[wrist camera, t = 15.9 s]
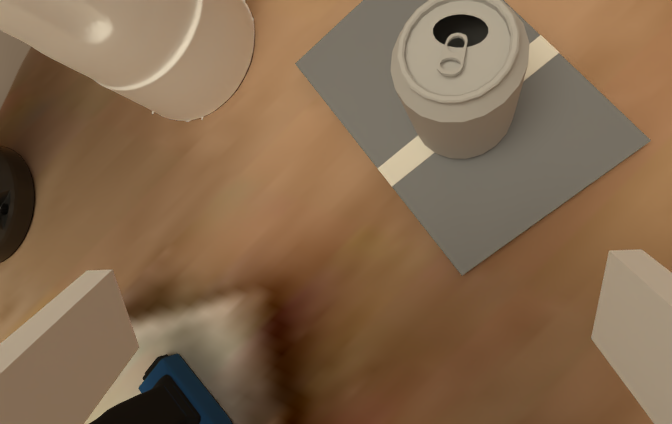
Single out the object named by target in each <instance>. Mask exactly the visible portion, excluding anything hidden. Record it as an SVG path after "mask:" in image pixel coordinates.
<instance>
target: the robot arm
mask: <svg viewBox="0 0 672 424" xmlns="http://www.w3.org/2000/svg"><path fill="white" fill-rule="evenodd" d="M33 205H34V189H33V182H32V178H31V174H30V171H29V169H28V167H27V165H26V163H25V162H24V160H23V159H22V158H21V156H20V155H19V154H17V153H16V152H15V151H13V150H11V149H9V148H6V147H1V146H0V262H2V261H4V260H5V259H7V258H8V257H9V256H10V255H11V254H12V253H13V252H14V251H15V250H16V249H17V248H18V246H19V245H20V243H21V242H22V240H23V238H24V236H25V234H26V232H27V230H28V227H29V224H30V221H31V217H32V212H33ZM591 339H592V340H593V342H594V343H595V345H596V346H597V347H598V349H599V350H600V351H601V353H602V354H603V355H604V357H605V358H606V359H607V361H608V362H609V363H610V365H611V366H612V368H613V369H614V370H615V372H616V373H617V374H618V376H619V377H620V378H621V380H622V381H623V382H624V384H625V385H626V386H627V388H628V389H629V390H630V392H631V393H632V395H633V396H634V397H635V399H636V400H637V401H638V403H639V404H640V405H641V407H642V408H643V409H644V411H645V412H646V413H647V415H648V416H649V417H650V419H651V420H652V422H653V423H654V424H672V273H671V272H670V271H669V270H668V269H666V268H665V267H664V266H662V265H661V264H660V263H659V262H657V261H656V260H655V259H653V258H652V257H651V256H650V255H648V254H647V253H646V252H644V251H643V250H642V249H639V250H612V251H609V253H608V258H607V263H606V268H605V273H604V278H603V282H602V287H601V292H600V297H599V302H598V307H597V312H596V317H595V322H594V327H593V332H592V337H591ZM138 348H139V345H138V342H137V339H136V336H135V333H134V330H133V327H132V325H131V322H130V319H129V316H128V313H127V310H126V307H125V304H124V301H123V298H122V295H121V293H120V290H119V287H118V284H117V281H116V278H115V275H114V272H113V270H87V271H86V272H85V273H83V274H82V275H81V276H80V277H79V278H77V279H76V280H75V281H74V282H73V283H72V284H70V285H69V286H68V287H67V288H66V289H64V290H63V291H62V292H61V293H60V294H59V295H57V296H56V297H55V298H54V299H53V300H51V301H50V302H49V303H48V304H47V305H45V306H44V307H43V308H42V309H41V310H40V311H38V312H37V313H36V314H35V315H34V316H32V317H31V318H30V319H29V320H28V321H27V322H25V323H24V324H23V325H22V326H21V327H19V328H18V329H17V330H16V331H15V332H14V333H12V334H11V335H10V336H9V337H8V338H6V339H5V340H4V341H3V342H2V343H0V424H84V423H85V421H86V420H87V418H88V417H89V416H90V414H91V413H92V412H93V410H94V409H95V407H96V406H97V405H98V403H99V402H100V401H101V399H102V398H103V396H104V395H105V394H106V392H107V391H108V390H109V388H110V387H111V385H112V384H113V383H114V381H115V380H116V379H117V377H118V376H119V374H120V373H121V372H122V370H123V369H124V368H125V366H126V365H127V363H128V362H129V361H130V359H131V358H132V356H133V355H134V354H135V352H136V351H137V350H138Z"/></svg>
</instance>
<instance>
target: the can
mask: <svg viewBox="0 0 672 424" xmlns="http://www.w3.org/2000/svg"><path fill="white" fill-rule="evenodd" d="M528 59H529V40H528V37H527V33H526V30H525V27H524V24H523V22H522V21H521V20H520V19H519V17H518V16H517V15H516V14H515V12H514V11H513V10H512V9H511V8H510V7H509V6H507V5H506V4H505V3H504V2H503V1H502V0H428V1H427V2H426V3H424V4H423V5H422V6H420V7H419V8H418V9H416V11H415V12H414V13H413V14H412V16H411V17H410V18H409V19H408V21H407V22H406V23H405V25H404V27H403V30H402V31H401V32H400V34H399V36H398V39H397V41H396V43H395V46H394V48H393V51H392V60H391V75H392V79H393V83H394V87H395V90H396V92H397V94H398V96H399V98H400V100H401V102H402V104H403V106H404V108H405V110H406V112H407V114H408V116H409V118H410V120H411V122H412V125H413V127H414V129H415V131H416V133H417V134H418V136H419V137H420V139H421V140H422V142H423V143H424V145H425V146H427V147H428V148H429V149H431V150H432V151H433V152H435V153H436V154H439V155H442V156H445V157H447V158H452V159H467V158H471V157H475V156H478V155H482V154H483V153H485V152H487V151H488V150H490V149H491V148H493V147H495V146H496V145H497V144H498V143H499V142H500V140H501V139H502V138H503V137H504V136H505V135H506V134H507V131H508V129H509V127H510V124H511V122H512V120H513V116H514V113H515V109H516V106H517V102H518V99H519V95H520V91H521V88H522V84H523V81H524V77H525V74H526V70H527V67H528Z"/></svg>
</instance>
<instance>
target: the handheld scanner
mask: <svg viewBox="0 0 672 424" xmlns="http://www.w3.org/2000/svg"><path fill="white" fill-rule="evenodd" d="M143 380H144V381H143V383H142V384H141V385H140V386H139V390H140V392H141V393H142V394H139V395H137V396H135V397H133V398H130V399H128V400H126V401H124V402H122V403H120V404H117V405H116V406H114V407H112V408H110V409H109V410H107V411H106V412H105V413H103V414H102V415H101V416H100V417H99V418H97V419H96V420H95V421H93V422H91V423H89V424H232V422H231V420H230V419H229V417H228V416H227V414H226V413H225V412H224V411H223V409H222V408H221V407H220V406H219V404H218V403H217V402H216V401H215V399H214V398H213V397H212V396H211V394H210V393H209V392H208V390H207V389H206V388H205V387H204V385H203V384H202V383H201V382H200V380H199V379H198V378H197V377H196V375H195V374H194V373H193V372H192V370H191V369H190V368H189V367H188V365H187V364H186V363H185V362H184V360H183V359H182V358H181V357H180V355H179V354H174V355H171V356H168V355H163V356H160V357H157V359H156V360H155V361H154V362H153V364H152V365H151V366H150V367H149V369H148V370H147V371H146V372H145V375H144V377H143Z"/></svg>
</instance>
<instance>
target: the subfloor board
mask: <svg viewBox="0 0 672 424" xmlns="http://www.w3.org/2000/svg"><path fill="white" fill-rule="evenodd" d="M427 1H428V0H363V1H362V2H361V3H360V4H359V5H358V6H356V7H355V8H354V9H353V10H352V11H351V12H350V13H349V14H348V15H347V16H346V17H345V18H344V19H343V20H341V21H340V22H339V23H338V24H337V25H336V26H335V27H334V28H333V29H332V30H331V31H330V32H329V33H328V34H326V35H325V36H324V37H323V38H322V39H321V40H320V41H319V42H318V43H317V44H316V45H315V46H314V47H312V48H311V49H310V50H309V51H308V52H307V53H306V54H305V55H304V56H303V57H302V58H301V59H300V60H299V61H297V62H296V63H295V64H296V65H297V67H298V68H299V69H300V70H301V72H302V73H303V74H304V76H305V77H306V78H307V79H308V81H309V82H310V83H311V84H312V86H313V87H314V88H315V90H316V91H317V92H318V93H319V95H320V96H321V97H322V98H323V100H324V101H325V102H326V104H327V105H328V106H329V107H330V109H331V110H332V111H333V112H334V114H335V115H336V116H337V117H338V119H339V120H340V121H341V123H342V124H343V125H344V126H345V128H346V129H347V130H348V131H349V133H350V134H351V135H352V137H353V138H354V139H355V140H356V142H357V143H358V144H359V145H360V147H361V148H362V149H363V151H364V152H365V153H366V154H367V156H368V157H369V158H370V159H371V161H372V162H373V163H374V165H375V166H376V167H377V168H378V170H379V171H380V172H381V174H382V175H383V176H384V177H385V179H386V180H387V181H388V182H389V184H390V185H391V186H392V187H393V189H394V190H395V191H396V192H397V194H398V195H399V196H400V198H401V199H402V200H403V201H404V203H405V204H406V205H407V206H408V208H409V209H410V210H411V212H412V213H413V214H414V215H415V217H416V218H417V219H418V220H419V222H420V223H421V224H422V226H423V227H424V228H425V229H426V231H427V232H428V233H429V234H430V236H431V237H432V238H433V240H434V241H435V242H436V243H437V245H438V246H439V247H440V248H441V250H442V251H443V252H444V254H445V255H446V256H447V257H448V259H449V260H450V261H451V262H452V264H453V265H454V266H455V268H456V269H457V270H458V271H459V273H460V274H461V275H464V274H465V273H466V272H468V271H469V270H471V269H472V268H473V267H475V266H476V265H478V264H479V263H480V262H482V261H483V260H485V259H486V258H487V257H489V256H490V255H492V254H493V253H494V252H496V251H497V250H499V249H500V248H501V247H503V246H504V245H506V244H507V243H508V242H510V241H511V240H513V239H514V238H515V237H517V236H518V235H520V234H521V233H522V232H524V231H525V230H527V229H528V228H529V227H531V226H532V225H534V224H535V223H536V222H538V221H539V220H541V219H542V218H543V217H545V216H546V215H548V214H549V213H550V212H552V211H553V210H555V209H556V208H557V207H559V206H560V205H562V204H563V203H564V202H566V201H567V200H569V199H570V198H571V197H573V196H574V195H576V194H577V193H578V192H580V191H581V190H583V189H584V188H585V187H587V186H588V185H590V184H591V183H592V182H594V181H595V180H597V179H598V178H599V177H601V176H602V175H604V174H605V173H606V172H608V171H609V170H611V169H612V168H613V167H615V166H616V165H618V164H619V163H620V162H622V161H623V160H625V159H626V158H627V157H629V156H630V155H632V154H633V153H634V152H636V151H637V150H639V149H640V148H641V147H643V146H644V145H646V144H647V143H648V142H650V141H651V140H650V139H649V138H648V137H647V136H646V135H645V134H644V133H642V132H641V131H640V130H639V129H638V128H637V127H636V126H635V125H634V124H633V123H632V122H631V121H630V120H629V119H628V118H627V117H626V116H625V115H624V114H623V113H621V112H620V111H619V110H618V109H617V108H616V107H615V106H614V105H613V104H612V103H611V102H610V101H609V100H608V99H607V98H606V97H605V96H604V95H603V94H601V93H600V92H599V91H598V90H597V89H596V88H595V87H594V86H593V85H592V84H591V83H590V82H589V81H588V80H587V79H586V78H585V77H584V76H583V75H582V74H580V73H579V72H578V71H577V70H576V69H575V68H574V67H573V66H572V65H571V64H570V63H569V62H568V61H567V60H566V59H565V58H564V57H563V56H562V55H560V54H559V52H558V51H557V50H556V49H555V48H554V47H553V46H552V45H551V44H550V43H549V42H548V41H547V40H546V39H545V38H543V37H542V36H541V35H539V34H538V33H537V32H536V31H535V30H534V29H533V28H532V27H531V26H530V25H529V24H528V23H527V22H526V21H525V20H524V19H523V18H522V17H521V16H519V15H518V14H517V13H516V12H515V11H514V10H513V9H512V8H511V7H510V6H509V5H508V4H507V3H506V2H505V1H504V0H502V1H503V2H504V3H505V4H506V5H507V6H509V7H510V8H511V9H512V10H513V11H514V12H515V14H516V15H517V16H518V17H519V19H520V20H521V21H522V22H523V24H524V27H525V30H526V33H527V37H528V40H529V59H528V67H527V70H526V74H525V77H524V81H523V84H522V88H521V91H520V95H519V99H518V102H517V106H516V109H515V113H514V116H513V120H512V122H511V124H510V127H509V129H508V131H507V134H506V135H505V136H504V137H503V138H502V139H501V140H500V142H499V143H498V144H497V145H496V146H495V147H493V148H491V149H490V150H488V151H487V152H485V153H483V154H482V155H478V156H475V157H471V158H467V159H452V158H447V157H445V156H442V155H439V154H436V153H435V152H433V151H432V150H431V149H429V148H428V147H427V146H425V145H424V143H423V142H422V140H421V139H420V137H419V136H418V134H417V133H416V131H415V129H414V127H413V125H412V122H411V120H410V118H409V116H408V114H407V112H406V110H405V108H404V106H403V104H402V102H401V100H400V98H399V96H398V94H397V92H396V90H395V87H394V83H393V79H392V75H391V60H392V51H393V48H394V46H395V43H396V41H397V39H398V36H399V34H400V32H401V31H402V30H403V27H404V25H405V23H406V22H407V21H408V19H409V18H410V17H411V16H412V14H413V13H414V12H415V11H416V9H418V8H419V7H420V6H422V5H423V4H424V3H426V2H427Z"/></svg>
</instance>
